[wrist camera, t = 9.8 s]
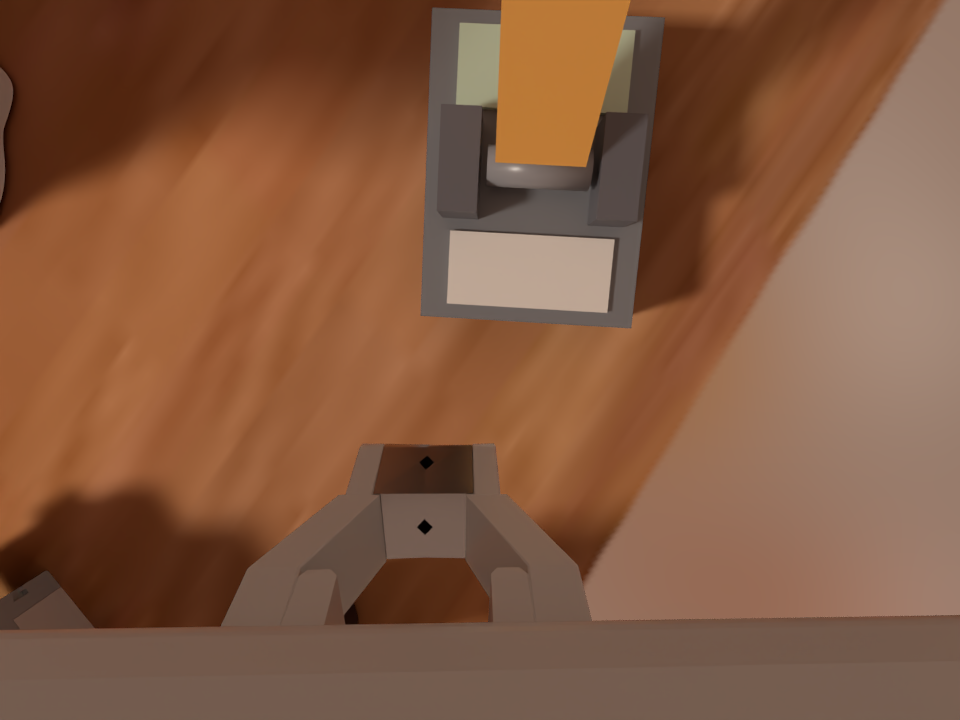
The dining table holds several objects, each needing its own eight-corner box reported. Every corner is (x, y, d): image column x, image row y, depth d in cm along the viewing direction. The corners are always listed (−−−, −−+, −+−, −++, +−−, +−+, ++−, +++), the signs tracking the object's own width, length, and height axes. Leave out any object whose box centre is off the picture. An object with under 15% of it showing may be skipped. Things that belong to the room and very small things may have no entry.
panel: (610, 321, 32) (644, 332, 24) (432, 310, 32) (413, 318, 25) (636, 62, 29) (684, -13, 22) (442, 53, 29) (424, -24, 22)
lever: (585, 199, 25) (671, -96, 14) (486, 194, 25) (491, -103, 14) (584, 171, 25) (665, -131, 14) (488, 166, 26) (495, -137, 15)
